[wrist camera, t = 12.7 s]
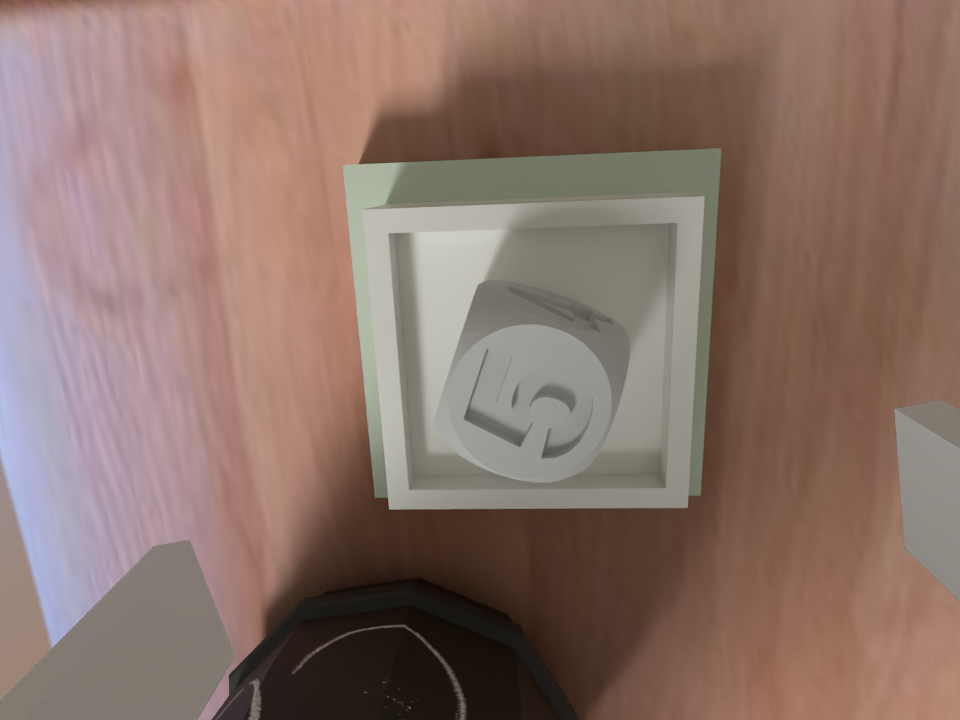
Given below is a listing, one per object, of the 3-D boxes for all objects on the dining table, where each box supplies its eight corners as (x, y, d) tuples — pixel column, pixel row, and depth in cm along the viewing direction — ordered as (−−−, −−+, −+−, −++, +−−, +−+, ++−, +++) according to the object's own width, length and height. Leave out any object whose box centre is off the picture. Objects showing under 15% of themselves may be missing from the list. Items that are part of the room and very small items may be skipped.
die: (483, 269, 23) (472, 296, 18) (618, 313, 23) (642, 351, 18) (443, 396, 24) (422, 452, 19) (570, 437, 24) (581, 503, 19)
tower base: (388, 467, 31) (353, 544, 25) (361, 165, 27) (312, 164, 21) (683, 464, 30) (727, 544, 24) (699, 150, 26) (756, 144, 20)
